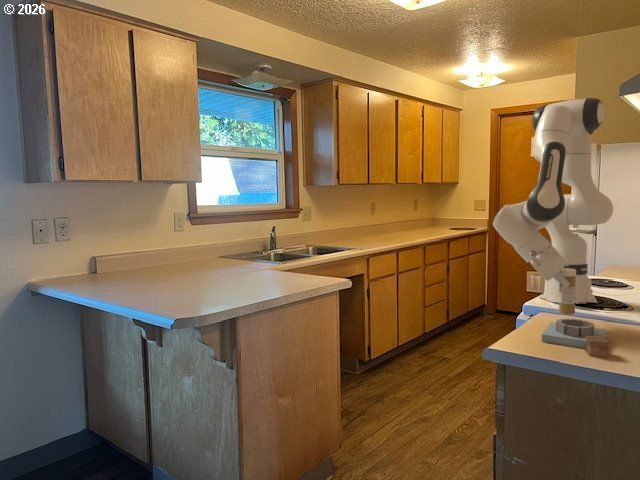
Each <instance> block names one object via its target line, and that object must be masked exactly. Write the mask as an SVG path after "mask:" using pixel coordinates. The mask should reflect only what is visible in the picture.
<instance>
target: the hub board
mask: <svg viewBox="0 0 640 480" xmlns="http://www.w3.org/2000/svg"><path fill="white" fill-rule="evenodd" d="M607 331H608V330H607V329H604V328H598V327H597V328H596V327H595V323H593V322H591V321H587V320H583V319H577V318H559V319H557V320H556V321H555V322H552V321H551V322H550V323H549V324H548V326H547V327H546V328H545V329H544V330H543V332H542V334H541V342H543V343H549V344H555V345H561V346H568V347H573V348H581V349H585V341H586V336H599V337H604V338H605V339H606V340H607V333H608V332H607Z"/></svg>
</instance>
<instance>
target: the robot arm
mask: <svg viewBox="0 0 640 480" xmlns="http://www.w3.org/2000/svg"><path fill="white" fill-rule="evenodd" d="M604 118H605V107H604V104H603V102H602V101H601V100H600V99H599V98H596V97H586V98H576V99H567V100H564V101H560V102H559V101H558V102H554V103H551V104H550V103H549V104H544V105H543V104H542V105H540V106H538V107H537V108H536V109H535V110H534V112H533V114H532V120H531V121H532V127H533V131H534V132H535V133H534V135H533V142H532V156H533V158H534V159H535V160H536V161H537V162H539V163H540V166H539V167H540V168H539V174H538V179H537V183H536V185H535V188H533V190H532V191H531V192H530V194H529V195H528V197H527V199H526V200H525V201H522V202H518V203H514V204H504V205H503V206H502V207H501V208H500V209H499V210H498V211H497V212H496V214H495V215H494V217H493V218H492V219H493V220H492V226H493V228H494V229H495V230H496V232H498V234H499V235H500V237H502V238H503V240H505V242H506V243H508V244H510V245H511V246H512V247H513V249H514V250H515V251H516V253H517V254H518V255H519V256H520V257H521V258H522V259H523V260H524V261H525V262H526V263H530V264H531V266H532V267H533V269H535V271H536V272H537V273H538V274H539V275H540V276H541V278H543V279H544V280H545V284H544V292H543V293H541V294H540V295H539V299H542V300H546V301H549V302H551V303H555V302H556V303H555V304H559V284H560V283H561V284H562V285H563V286H564V287H567V286H569V285H570V281H568V279H566V278H564V277H563V276H562V274H561V273H560V272H559V271H560V270H561V269H562V268H571V269H575V270H576V277H575V286H576V290H575V303H579V302H597V303H598V301H597V298H596V297H595V295H594V294H593V292H594V291H593V290H592V279H591V278H590V277H589V276H588V269H589V266H588V263H587V257H588V255H587V254H588V243H587V242H586V240H585V239H584V238H583V237H582V236H579V235H578V234H575V233H574V232H572V231H571V228H570V226H571V225H572V226H596V225H603V224H606V223H607V222H608V221H609V220H610V219H611V218H612V216H613V213H614V205H613V202H612V201H611V199H610V198H609V197H608V196H607V195H605V194H603V193H602V192H601V191H600V190H599V189H598V187H597V186H596V185H595V182H594V180H593V177H592V176H593V175H592V139H591V138H592V137H591V135H592V134H594V132H595V130H598V128H599V127H601V125H602V124H603V122H604ZM562 184H564V185H567V186H569V187H571V189H572V191H573V193H571V194H564V193H563V189H562ZM544 228H545V230H546V231H547V233H548V234H549V237H550V239H548V238H546V237H545V236H544V235H543V234H542V233H541V232H540V230H541V229H544Z"/></svg>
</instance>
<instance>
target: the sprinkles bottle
mask: <svg viewBox="0 0 640 480" xmlns="http://www.w3.org/2000/svg"><path fill="white" fill-rule="evenodd" d="M559 272H560V273H561V274H562V276H563V277H564V278H566V279H568V281H570V285H569V286H567V287H564V286H563V285H562V284H561V283H560V284H559V303H558V313H559V314H563V315H570V316H571V315H575V314H576V305H575V290H576V286H575V277H576V270H575V269H571V268H562V269H561V270H560V271H559Z"/></svg>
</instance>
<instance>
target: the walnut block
mask: <svg viewBox="0 0 640 480" xmlns="http://www.w3.org/2000/svg"><path fill="white" fill-rule="evenodd" d="M609 344H610V343H609V340H607V338H606V339H605V338H604V337H599V336H586V341H585V348H584V351H585V352H586V354H587V355H588V356H589V357H598V358H609Z"/></svg>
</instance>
